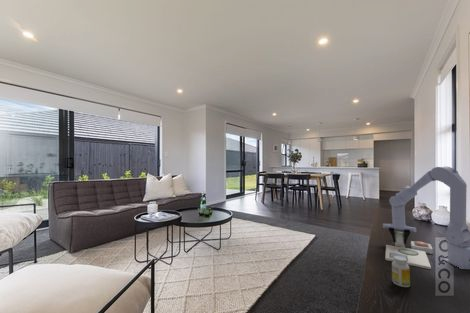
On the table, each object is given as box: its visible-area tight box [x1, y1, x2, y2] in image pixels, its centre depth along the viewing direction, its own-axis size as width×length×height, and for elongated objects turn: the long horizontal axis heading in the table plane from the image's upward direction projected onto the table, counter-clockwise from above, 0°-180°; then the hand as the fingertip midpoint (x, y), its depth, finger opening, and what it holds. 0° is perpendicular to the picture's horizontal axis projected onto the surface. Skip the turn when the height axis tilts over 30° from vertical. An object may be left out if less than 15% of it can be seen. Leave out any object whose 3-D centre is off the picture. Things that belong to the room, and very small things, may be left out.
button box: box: [410, 240, 434, 255], centre depth 111 cm, size 8×8×2 cm
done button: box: [414, 240, 428, 247], centre depth 112 cm, size 5×5×1 cm
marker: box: [394, 231, 406, 248], centre depth 116 cm, size 4×4×8 cm
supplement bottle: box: [391, 256, 411, 288], centre depth 81 cm, size 5×5×10 cm
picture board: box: [384, 244, 432, 270], centre depth 104 cm, size 20×16×1 cm
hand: (399, 242), depth 116 cm, fingers closed on marker, 4 cm apart
